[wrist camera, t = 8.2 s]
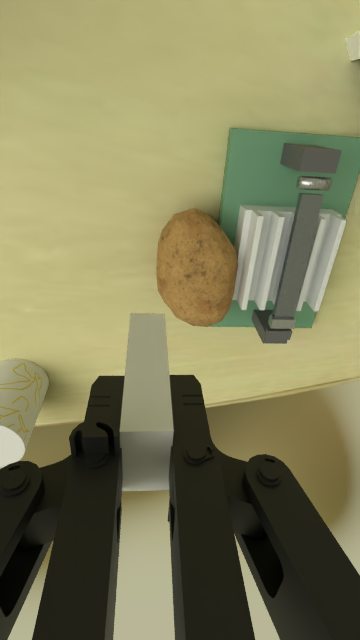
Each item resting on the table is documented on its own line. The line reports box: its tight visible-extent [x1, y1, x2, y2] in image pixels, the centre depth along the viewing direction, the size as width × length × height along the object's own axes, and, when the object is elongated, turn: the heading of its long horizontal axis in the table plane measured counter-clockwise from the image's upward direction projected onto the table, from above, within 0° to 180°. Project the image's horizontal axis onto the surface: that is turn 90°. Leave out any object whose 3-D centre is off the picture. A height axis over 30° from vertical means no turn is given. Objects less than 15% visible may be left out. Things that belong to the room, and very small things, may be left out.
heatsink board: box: [211, 128, 360, 343], centre depth 40 cm, size 24×15×8 cm, turn 176°
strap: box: [268, 176, 332, 329], centre depth 37 cm, size 17×3×1 cm, turn 176°
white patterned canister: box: [0, 359, 49, 467], centre depth 47 cm, size 8×8×12 cm
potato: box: [157, 208, 238, 327], centre depth 40 cm, size 10×14×8 cm
